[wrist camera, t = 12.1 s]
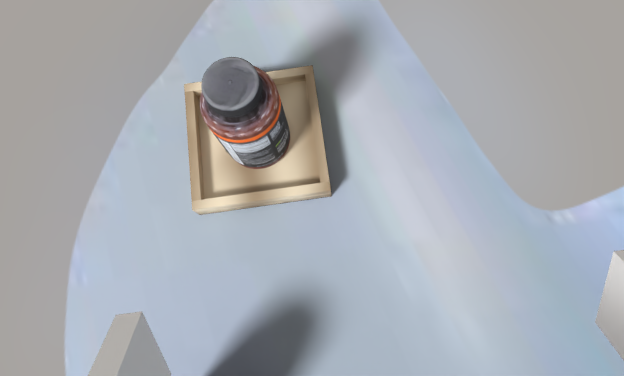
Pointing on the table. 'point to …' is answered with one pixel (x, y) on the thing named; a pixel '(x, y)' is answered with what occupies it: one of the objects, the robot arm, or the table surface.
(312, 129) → the birch tray
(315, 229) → the table surface
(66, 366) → the table surface
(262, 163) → the supplement bottle
